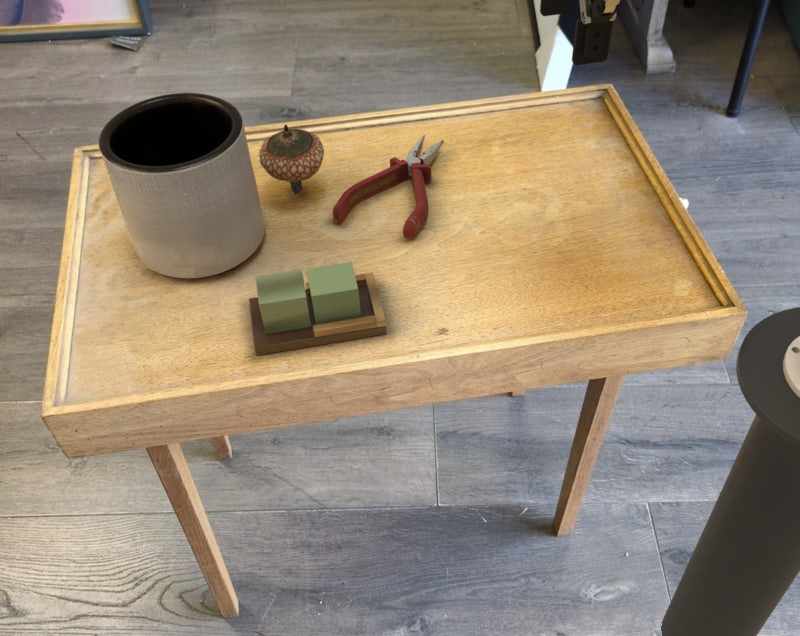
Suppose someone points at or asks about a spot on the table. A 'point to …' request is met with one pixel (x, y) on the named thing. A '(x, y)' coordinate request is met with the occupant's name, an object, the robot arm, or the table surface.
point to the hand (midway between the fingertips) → (571, 36)
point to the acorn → (292, 156)
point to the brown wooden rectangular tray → (307, 314)
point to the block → (334, 293)
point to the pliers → (392, 177)
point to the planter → (184, 183)
